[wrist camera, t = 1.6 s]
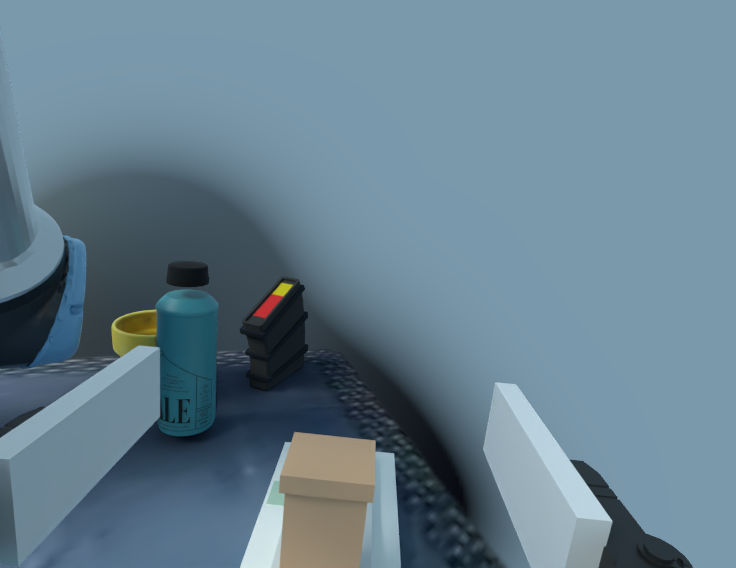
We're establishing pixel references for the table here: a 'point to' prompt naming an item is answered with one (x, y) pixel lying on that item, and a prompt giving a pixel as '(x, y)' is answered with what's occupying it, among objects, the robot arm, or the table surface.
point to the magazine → (276, 334)
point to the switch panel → (379, 532)
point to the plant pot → (134, 331)
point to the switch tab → (325, 500)
